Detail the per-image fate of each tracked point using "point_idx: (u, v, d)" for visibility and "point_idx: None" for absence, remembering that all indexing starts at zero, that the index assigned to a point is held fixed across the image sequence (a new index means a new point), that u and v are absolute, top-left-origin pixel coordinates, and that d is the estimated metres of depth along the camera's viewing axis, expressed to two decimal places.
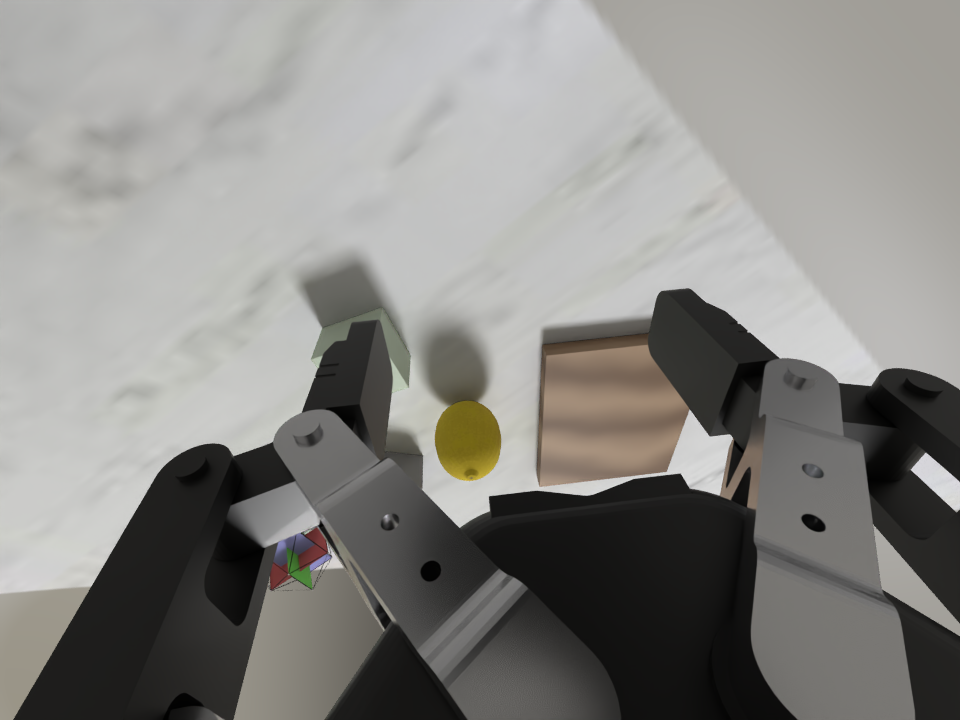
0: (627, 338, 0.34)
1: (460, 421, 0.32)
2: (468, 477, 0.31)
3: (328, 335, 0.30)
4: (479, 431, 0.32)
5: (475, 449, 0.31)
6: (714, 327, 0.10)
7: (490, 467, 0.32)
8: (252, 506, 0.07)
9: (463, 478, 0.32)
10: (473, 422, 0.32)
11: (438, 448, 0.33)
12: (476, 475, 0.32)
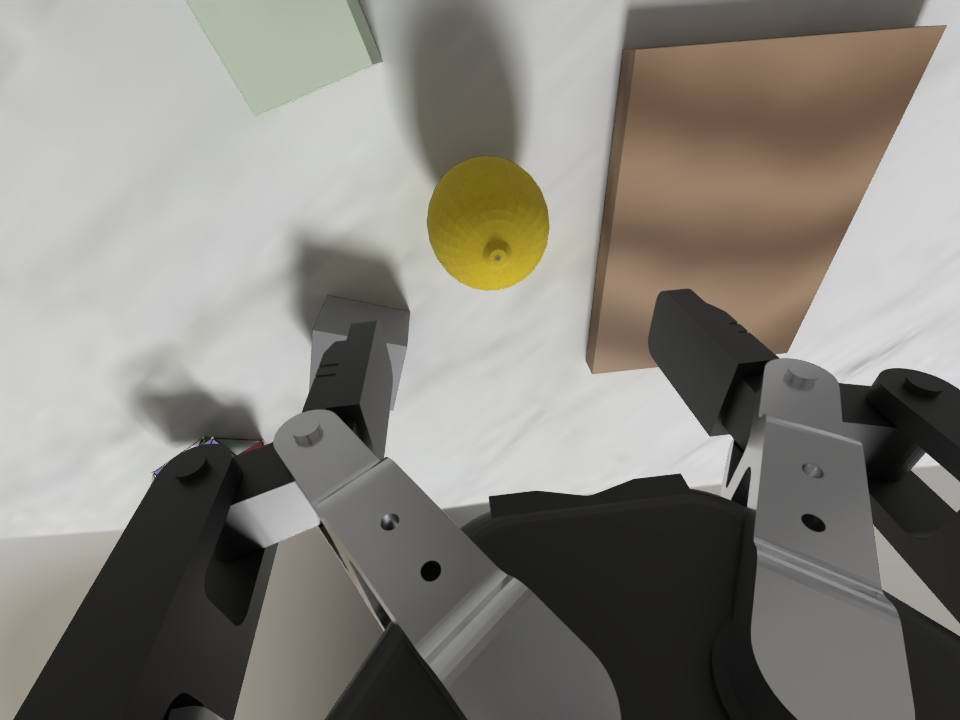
0: None
1: (474, 164, 0.17)
2: (492, 256, 0.16)
3: None
4: (512, 175, 0.16)
5: (506, 199, 0.16)
6: (714, 327, 0.10)
7: (533, 249, 0.17)
8: (252, 506, 0.07)
9: (481, 269, 0.17)
10: (500, 164, 0.17)
11: (433, 220, 0.17)
12: (507, 253, 0.16)
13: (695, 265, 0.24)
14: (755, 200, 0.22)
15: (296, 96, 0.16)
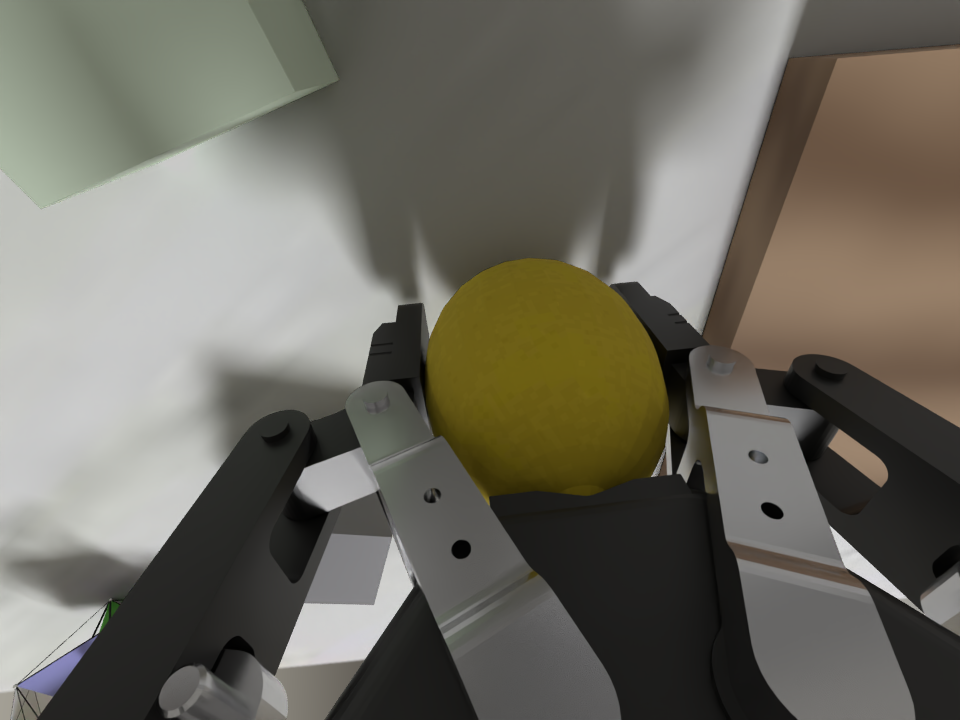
0: None
1: (522, 293, 0.08)
2: None
3: None
4: (606, 326, 0.08)
5: (601, 394, 0.07)
6: (652, 317, 0.10)
7: None
8: (321, 476, 0.08)
9: None
10: (575, 295, 0.08)
11: (435, 403, 0.08)
12: None
13: None
14: None
15: (127, 165, 0.07)
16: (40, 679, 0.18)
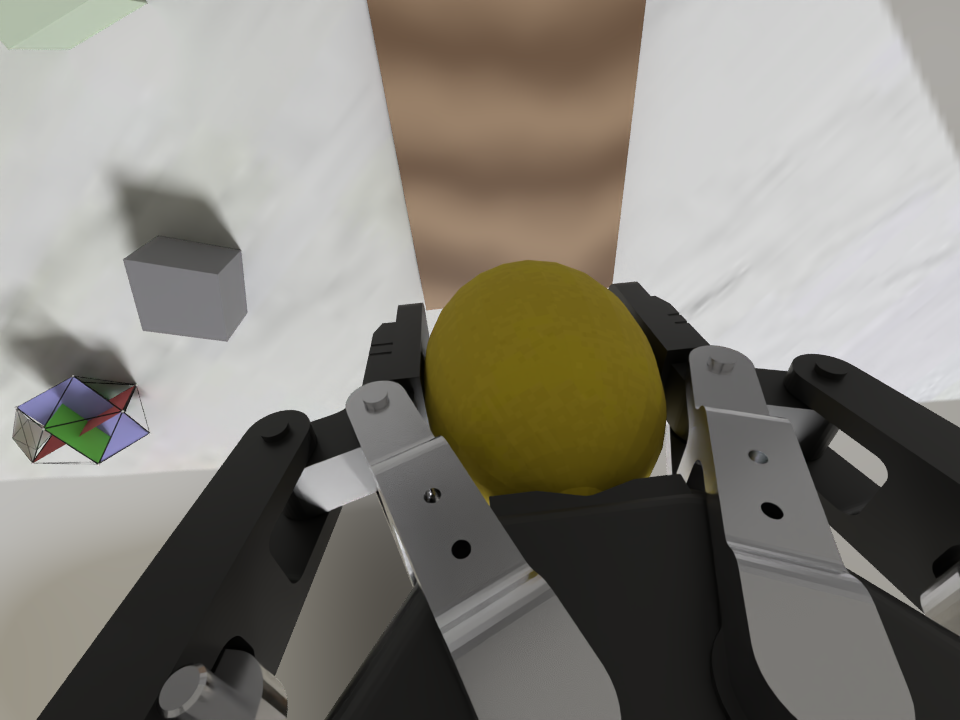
0: None
1: (520, 296, 0.08)
2: None
3: None
4: (603, 328, 0.08)
5: (599, 397, 0.07)
6: (652, 317, 0.10)
7: None
8: (321, 475, 0.08)
9: None
10: (573, 298, 0.08)
11: (434, 405, 0.09)
12: None
13: (490, 197, 0.26)
14: (527, 130, 0.24)
15: (39, 28, 0.18)
16: (31, 406, 0.30)
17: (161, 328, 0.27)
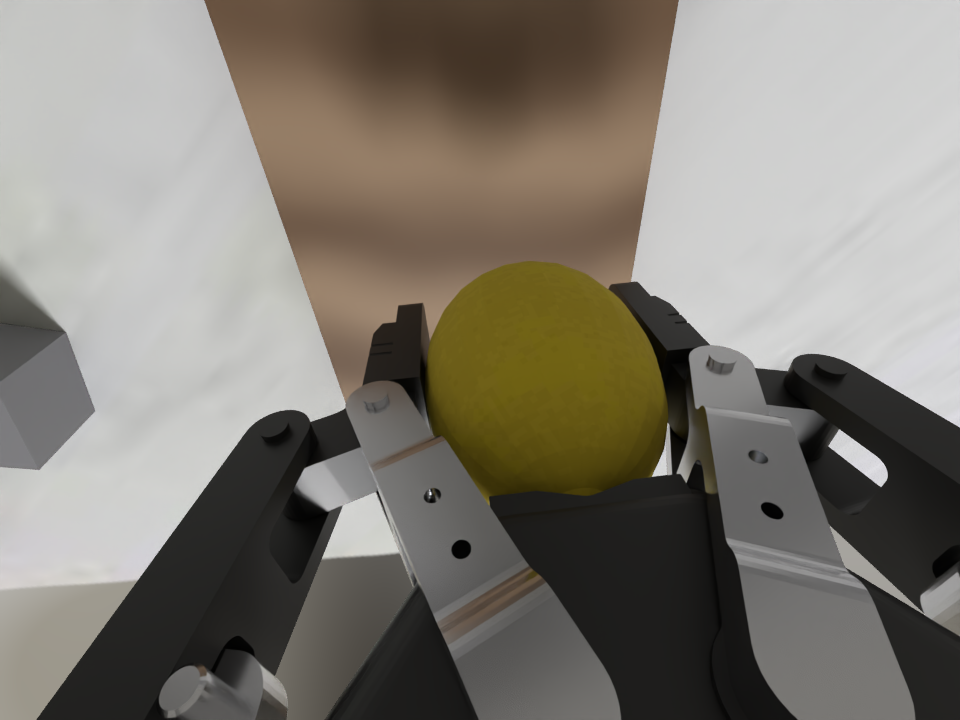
0: None
1: (522, 297, 0.08)
2: None
3: None
4: (605, 329, 0.08)
5: (601, 398, 0.07)
6: (652, 317, 0.10)
7: None
8: (321, 475, 0.08)
9: None
10: (575, 299, 0.08)
11: (436, 406, 0.09)
12: None
13: (433, 270, 0.17)
14: (485, 175, 0.15)
15: None
16: None
17: None
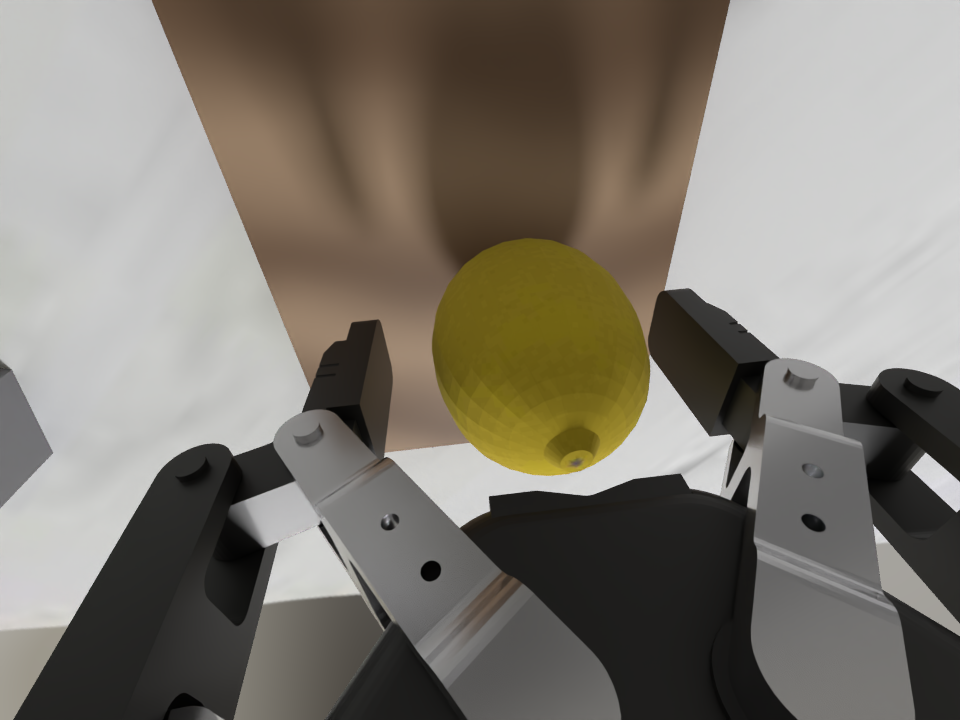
0: None
1: (522, 267, 0.09)
2: (565, 460, 0.08)
3: None
4: (595, 294, 0.09)
5: (592, 351, 0.08)
6: (714, 327, 0.10)
7: (631, 426, 0.09)
8: (252, 506, 0.07)
9: (538, 466, 0.09)
10: (568, 269, 0.09)
11: (446, 366, 0.10)
12: (594, 452, 0.08)
13: (432, 302, 0.15)
14: (494, 195, 0.13)
15: None
16: None
17: None
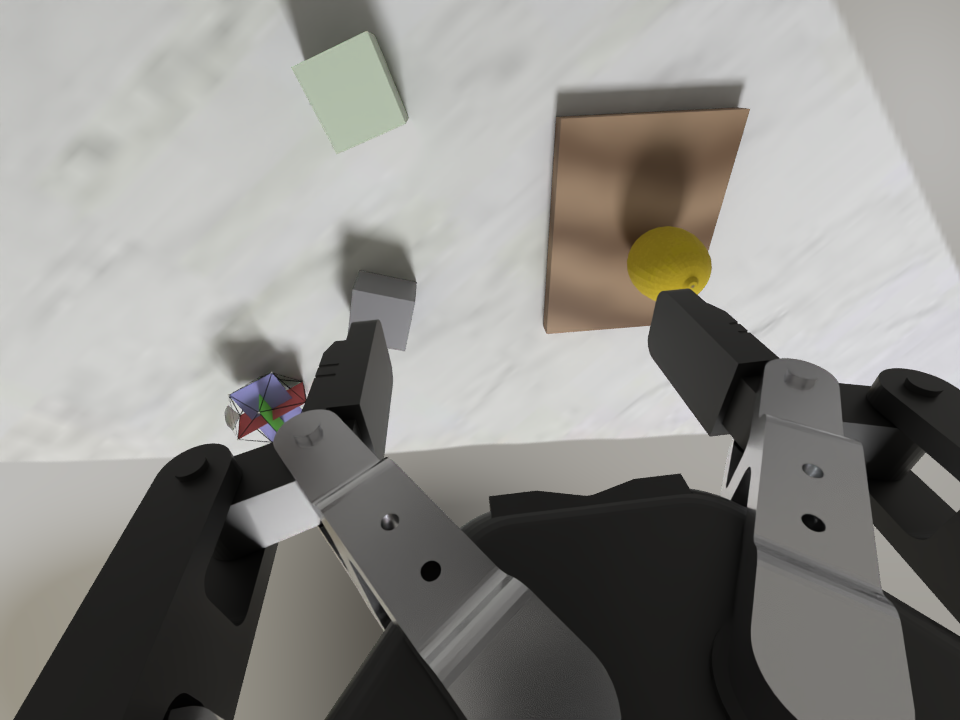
0: (651, 112, 0.31)
1: (673, 233, 0.30)
2: (689, 285, 0.29)
3: None
4: (697, 241, 0.30)
5: (698, 255, 0.29)
6: (714, 327, 0.10)
7: (706, 282, 0.30)
8: (252, 506, 0.07)
9: None
10: (687, 234, 0.30)
11: (647, 263, 0.30)
12: (697, 284, 0.29)
13: (612, 255, 0.36)
14: (647, 211, 0.34)
15: (361, 142, 0.27)
16: (238, 395, 0.38)
17: None
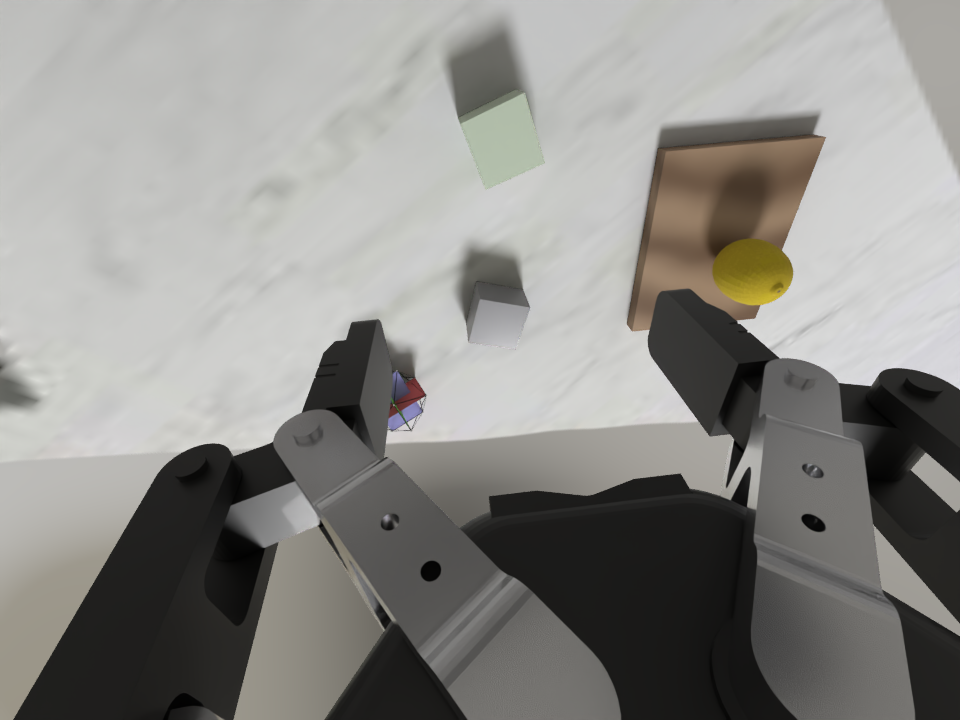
0: (739, 142, 0.36)
1: (759, 245, 0.36)
2: (776, 290, 0.34)
3: (468, 115, 0.32)
4: (781, 252, 0.35)
5: (783, 264, 0.34)
6: (714, 327, 0.10)
7: (788, 287, 0.35)
8: (252, 506, 0.07)
9: (765, 296, 0.35)
10: (772, 246, 0.35)
11: (737, 271, 0.36)
12: (783, 289, 0.34)
13: (696, 262, 0.41)
14: (730, 225, 0.39)
15: (507, 179, 0.33)
16: None
17: (480, 341, 0.41)
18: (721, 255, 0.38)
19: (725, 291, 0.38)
